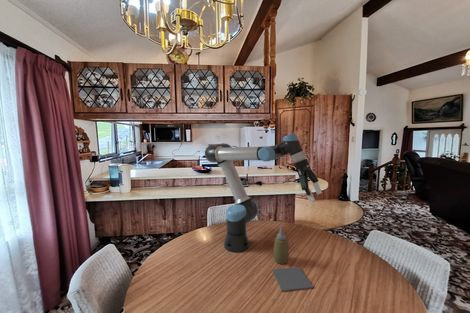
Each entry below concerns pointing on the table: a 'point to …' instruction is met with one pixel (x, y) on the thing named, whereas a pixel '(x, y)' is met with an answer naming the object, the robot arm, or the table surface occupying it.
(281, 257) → the squeeze bottle
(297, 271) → the mat
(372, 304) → the table surface
